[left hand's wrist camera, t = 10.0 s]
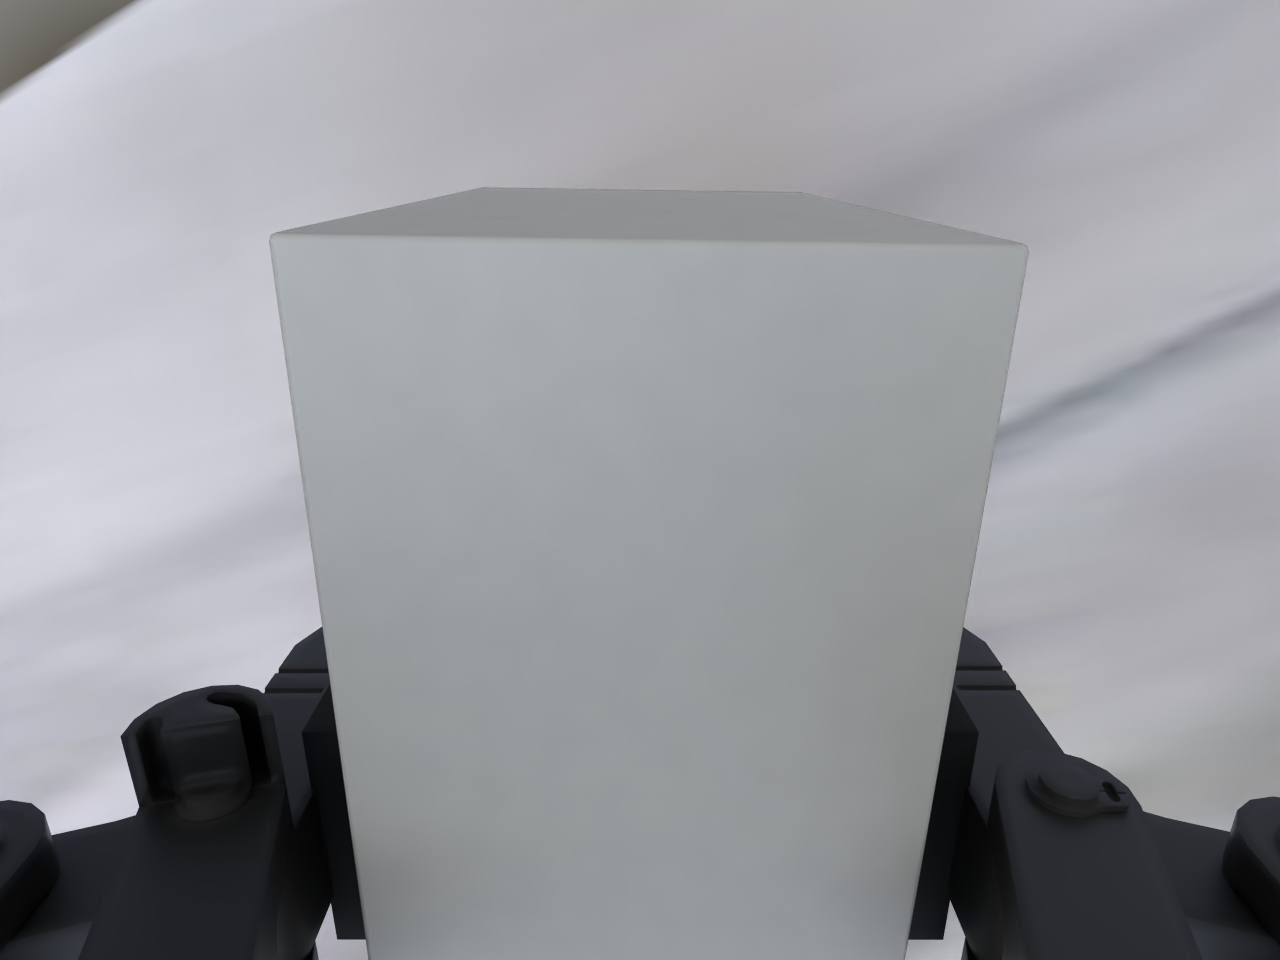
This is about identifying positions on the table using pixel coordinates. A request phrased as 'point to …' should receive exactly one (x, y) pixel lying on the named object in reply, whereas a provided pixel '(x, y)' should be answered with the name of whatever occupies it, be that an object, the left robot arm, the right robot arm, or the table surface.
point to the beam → (642, 559)
